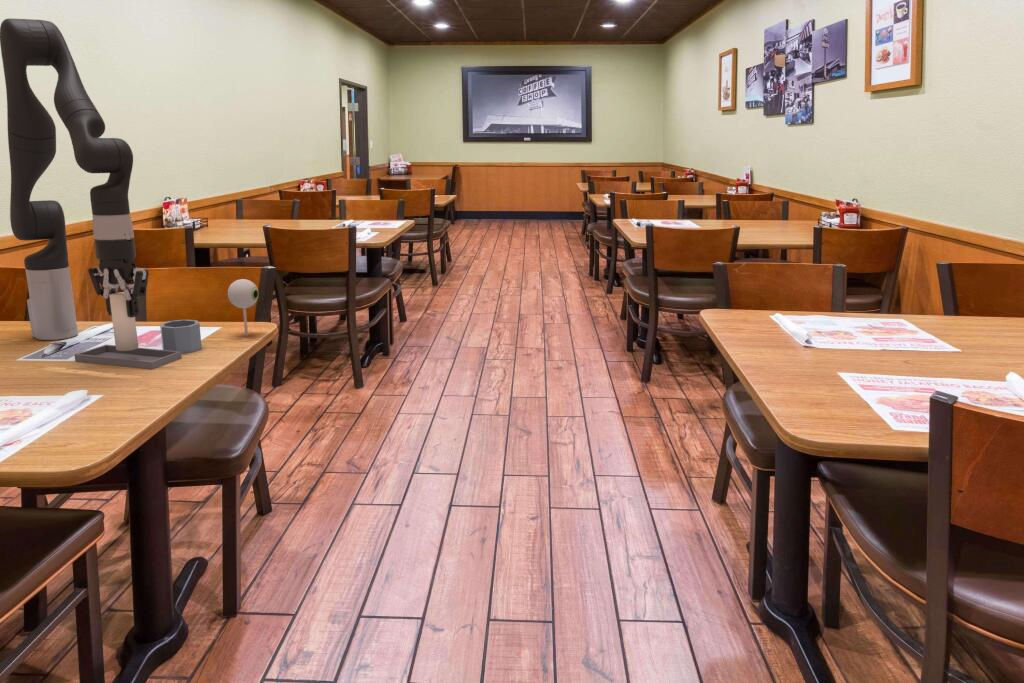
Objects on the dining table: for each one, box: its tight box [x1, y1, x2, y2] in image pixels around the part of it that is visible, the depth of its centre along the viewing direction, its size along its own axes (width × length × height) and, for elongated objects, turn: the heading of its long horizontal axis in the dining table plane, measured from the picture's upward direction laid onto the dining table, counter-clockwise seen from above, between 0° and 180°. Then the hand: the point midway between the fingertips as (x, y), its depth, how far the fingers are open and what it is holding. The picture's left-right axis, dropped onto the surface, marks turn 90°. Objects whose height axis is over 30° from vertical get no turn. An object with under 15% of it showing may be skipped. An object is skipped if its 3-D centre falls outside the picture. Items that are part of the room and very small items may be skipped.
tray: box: [74, 344, 182, 370], centre depth 169 cm, size 20×9×2 cm, turn 74°
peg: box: [109, 291, 139, 351], centre depth 167 cm, size 4×4×12 cm
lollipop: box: [227, 278, 260, 337], centre depth 189 cm, size 7×7×15 cm
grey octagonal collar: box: [159, 319, 203, 355], centre depth 177 cm, size 8×8×7 cm
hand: (123, 315), depth 166 cm, fingers closed on peg, 4 cm apart
